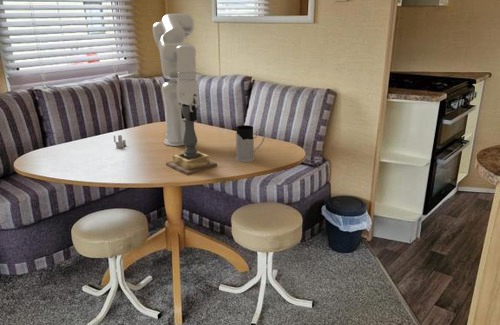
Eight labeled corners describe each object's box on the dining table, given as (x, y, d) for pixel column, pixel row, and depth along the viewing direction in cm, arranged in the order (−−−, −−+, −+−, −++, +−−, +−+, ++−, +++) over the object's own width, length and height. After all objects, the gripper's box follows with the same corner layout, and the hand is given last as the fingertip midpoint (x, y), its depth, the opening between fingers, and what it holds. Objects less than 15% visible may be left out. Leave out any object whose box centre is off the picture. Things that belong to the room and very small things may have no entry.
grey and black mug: (233, 157, 194) (232, 125, 189) (261, 153, 199) (261, 123, 194) (239, 162, 186) (238, 130, 181) (268, 159, 191) (268, 127, 186)
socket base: (166, 165, 184) (165, 155, 182) (196, 157, 194) (195, 147, 192) (186, 174, 173) (186, 164, 171) (217, 166, 183) (216, 155, 181)
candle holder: (184, 159, 185) (181, 103, 177) (198, 158, 186) (196, 103, 177) (183, 163, 180) (180, 106, 171) (198, 163, 180) (195, 106, 172)
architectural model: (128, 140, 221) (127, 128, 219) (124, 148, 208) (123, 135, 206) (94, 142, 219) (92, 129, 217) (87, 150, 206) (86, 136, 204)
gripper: (167, 75, 174) (170, 117, 180) (191, 79, 162) (193, 124, 168) (183, 73, 179) (185, 114, 185) (206, 77, 167) (208, 121, 173)
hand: (189, 119), depth 176 cm, fingers closed on candle holder, 5 cm apart
